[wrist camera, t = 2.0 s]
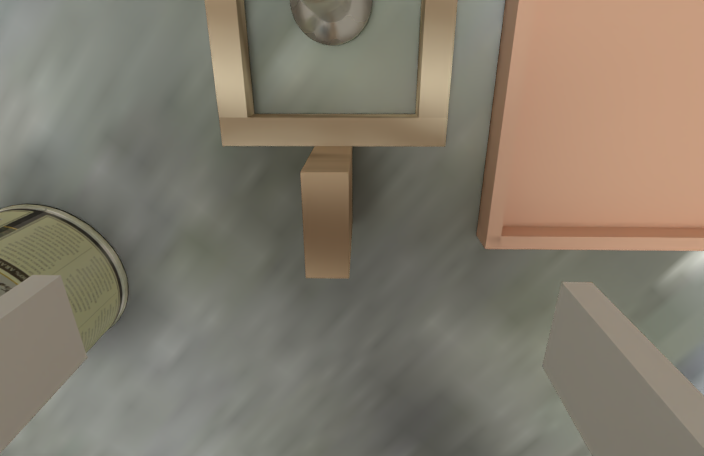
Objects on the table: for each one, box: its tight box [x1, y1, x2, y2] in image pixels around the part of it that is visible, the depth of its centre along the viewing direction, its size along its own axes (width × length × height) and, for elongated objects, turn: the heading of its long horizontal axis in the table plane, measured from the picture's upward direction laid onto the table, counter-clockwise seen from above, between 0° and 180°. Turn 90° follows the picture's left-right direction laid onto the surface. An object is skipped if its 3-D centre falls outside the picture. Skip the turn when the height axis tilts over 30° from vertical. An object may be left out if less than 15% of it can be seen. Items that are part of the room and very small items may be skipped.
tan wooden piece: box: [205, 0, 458, 278], centre depth 19 cm, size 17×12×7 cm
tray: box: [476, 0, 704, 251], centre depth 20 cm, size 22×17×2 cm
